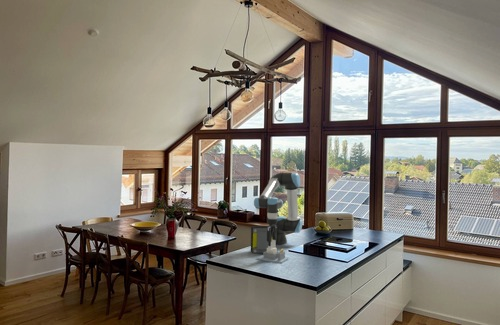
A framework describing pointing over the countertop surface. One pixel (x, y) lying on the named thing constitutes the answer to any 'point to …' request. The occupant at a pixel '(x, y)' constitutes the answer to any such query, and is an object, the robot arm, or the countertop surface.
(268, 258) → the header board
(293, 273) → the countertop surface
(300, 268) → the countertop surface
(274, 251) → the plug
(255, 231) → the electrical component
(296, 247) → the countertop surface
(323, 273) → the countertop surface
